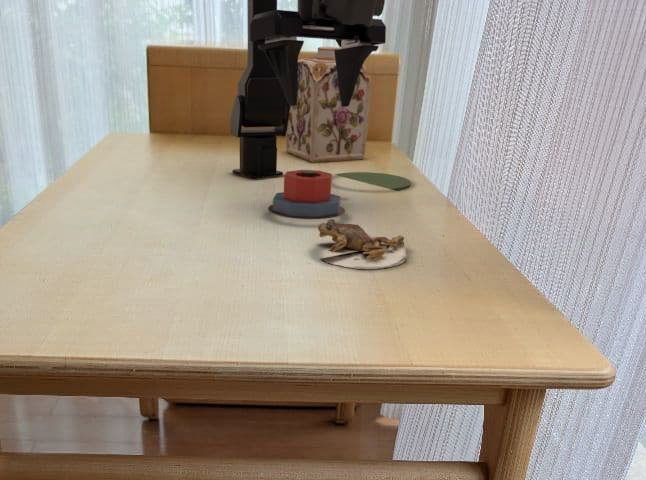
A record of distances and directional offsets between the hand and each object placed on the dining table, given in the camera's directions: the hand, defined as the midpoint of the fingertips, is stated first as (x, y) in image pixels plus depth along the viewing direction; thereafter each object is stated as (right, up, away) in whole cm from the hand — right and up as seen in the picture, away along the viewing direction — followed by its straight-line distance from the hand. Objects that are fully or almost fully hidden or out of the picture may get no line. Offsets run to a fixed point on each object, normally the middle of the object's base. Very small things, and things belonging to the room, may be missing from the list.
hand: (319, 106), depth 109 cm
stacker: (-1, -12, +7) cm, 14 cm away
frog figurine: (+4, -23, -8) cm, 25 cm away
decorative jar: (+4, +16, +48) cm, 51 cm away
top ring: (-1, -10, +6) cm, 11 cm away
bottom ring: (-1, -11, +7) cm, 13 cm away
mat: (+10, +2, +28) cm, 30 cm away
